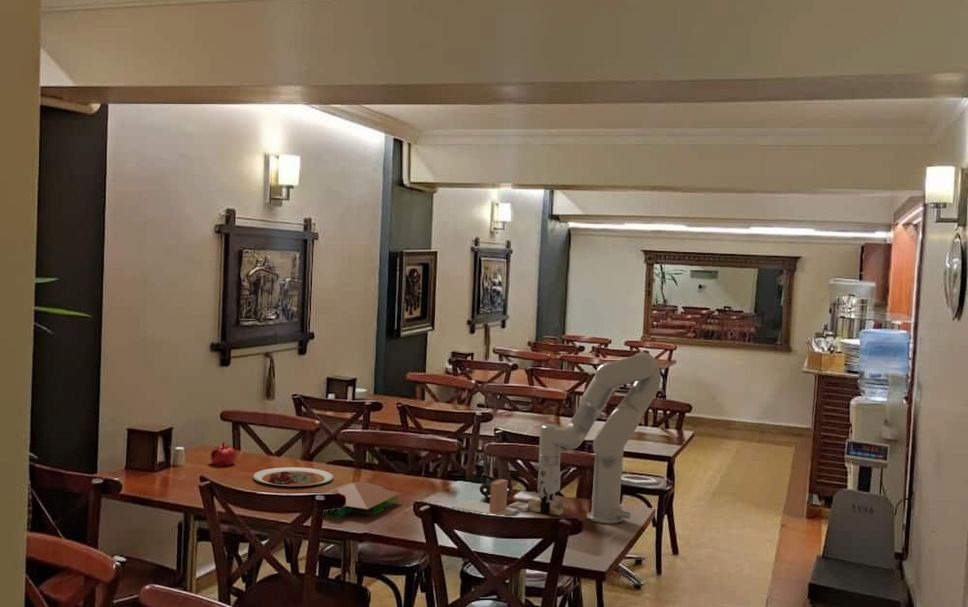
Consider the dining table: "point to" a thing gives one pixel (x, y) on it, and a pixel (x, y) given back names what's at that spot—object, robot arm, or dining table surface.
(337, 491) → the house
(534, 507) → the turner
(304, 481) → the plated food
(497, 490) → the tile
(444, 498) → the dining table surface
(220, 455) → the pomegranate
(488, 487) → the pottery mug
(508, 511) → the board
